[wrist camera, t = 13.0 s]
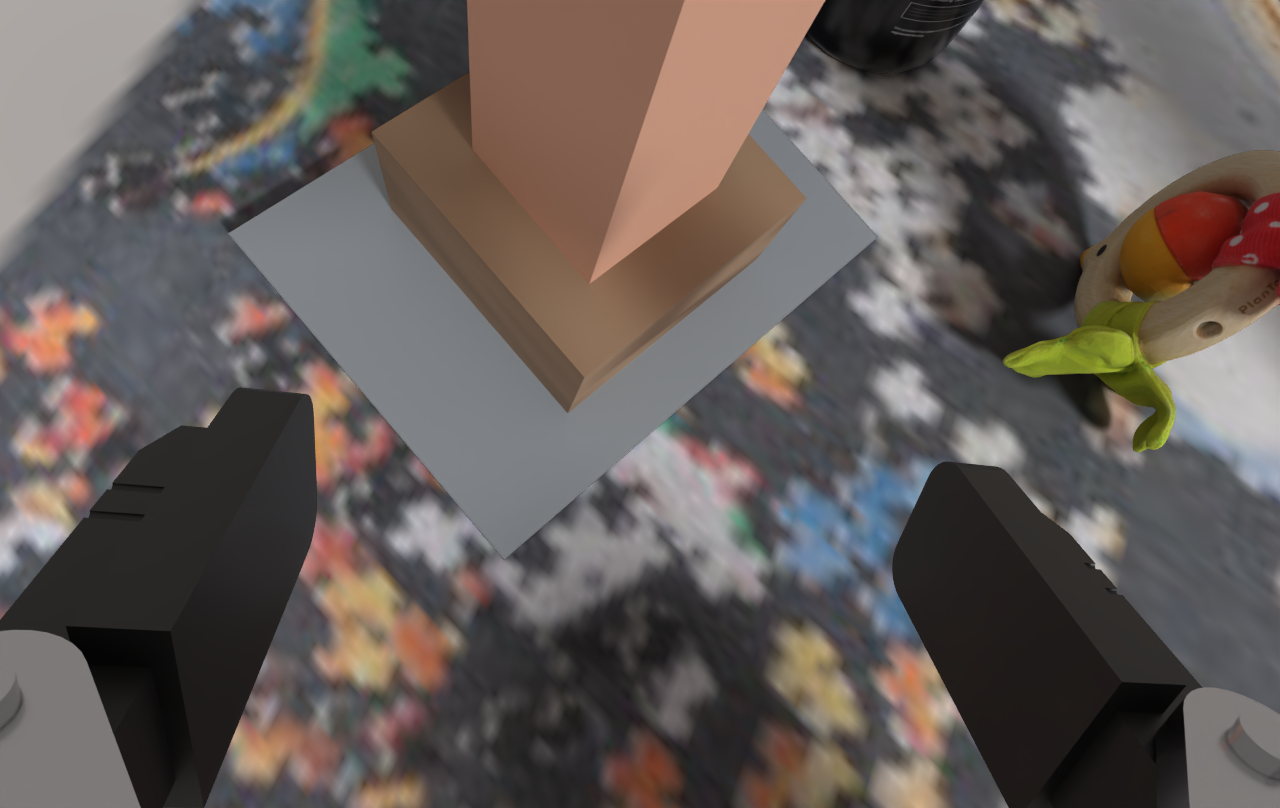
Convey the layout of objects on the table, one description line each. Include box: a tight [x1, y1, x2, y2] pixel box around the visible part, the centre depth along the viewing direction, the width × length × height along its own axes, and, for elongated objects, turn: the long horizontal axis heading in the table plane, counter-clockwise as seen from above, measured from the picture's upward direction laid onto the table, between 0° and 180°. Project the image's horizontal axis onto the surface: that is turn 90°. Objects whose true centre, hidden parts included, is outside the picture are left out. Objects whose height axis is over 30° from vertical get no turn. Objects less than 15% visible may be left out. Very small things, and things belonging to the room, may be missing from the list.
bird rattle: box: [1003, 150, 1280, 452], centre depth 22 cm, size 6×11×9 cm
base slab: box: [372, 72, 807, 413], centre depth 21 cm, size 8×8×4 cm
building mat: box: [228, 109, 878, 560], centre depth 24 cm, size 16×12×1 cm
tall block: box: [467, 0, 825, 284], centre depth 15 cm, size 4×4×10 cm
